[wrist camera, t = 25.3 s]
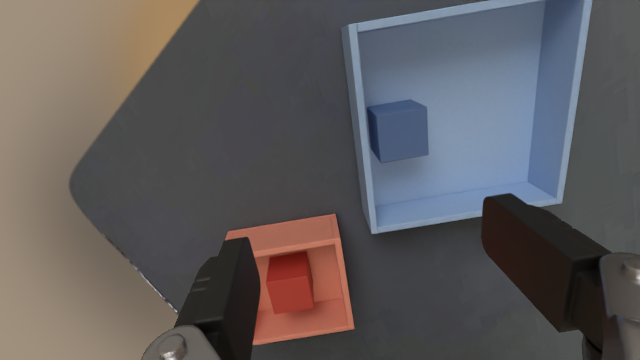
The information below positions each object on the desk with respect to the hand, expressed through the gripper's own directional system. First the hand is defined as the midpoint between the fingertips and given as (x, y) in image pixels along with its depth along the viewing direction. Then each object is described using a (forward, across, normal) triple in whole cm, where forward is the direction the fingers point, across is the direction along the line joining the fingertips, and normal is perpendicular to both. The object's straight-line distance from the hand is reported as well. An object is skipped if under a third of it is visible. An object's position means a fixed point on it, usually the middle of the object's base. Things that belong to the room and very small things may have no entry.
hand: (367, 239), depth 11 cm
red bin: (+20, +6, +15) cm, 26 cm away
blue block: (+19, -6, +1) cm, 20 cm away
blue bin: (+20, -11, +1) cm, 23 cm away
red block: (+19, +6, +15) cm, 25 cm away
